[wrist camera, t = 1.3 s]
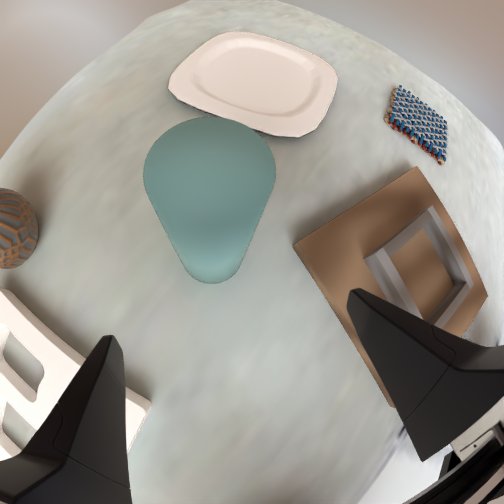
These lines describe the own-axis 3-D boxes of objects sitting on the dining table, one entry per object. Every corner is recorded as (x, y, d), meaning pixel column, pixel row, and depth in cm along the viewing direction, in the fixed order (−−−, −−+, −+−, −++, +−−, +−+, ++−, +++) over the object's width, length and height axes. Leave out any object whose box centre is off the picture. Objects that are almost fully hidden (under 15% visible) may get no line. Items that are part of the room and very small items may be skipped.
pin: (254, 263, 23) (301, 188, 10) (201, 295, 21) (180, 255, 9) (222, 213, 23) (232, 102, 11) (170, 242, 22) (125, 150, 10)
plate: (342, 75, 31) (346, 67, 30) (304, 162, 26) (309, 152, 25) (226, 33, 31) (226, 24, 30) (151, 102, 26) (148, 92, 24)
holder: (69, 578, 7) (64, 585, 4) (-20, 510, 7) (-27, 514, 4) (154, 401, 19) (147, 410, 17) (11, 289, 19) (-5, 285, 17)
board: (479, 297, 25) (499, 293, 22) (390, 406, 21) (411, 414, 17) (409, 171, 28) (426, 157, 24) (292, 246, 23) (304, 234, 20)
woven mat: (443, 127, 33) (450, 120, 31) (440, 170, 30) (449, 163, 28) (391, 88, 33) (397, 80, 31) (380, 125, 30) (387, 115, 28)
